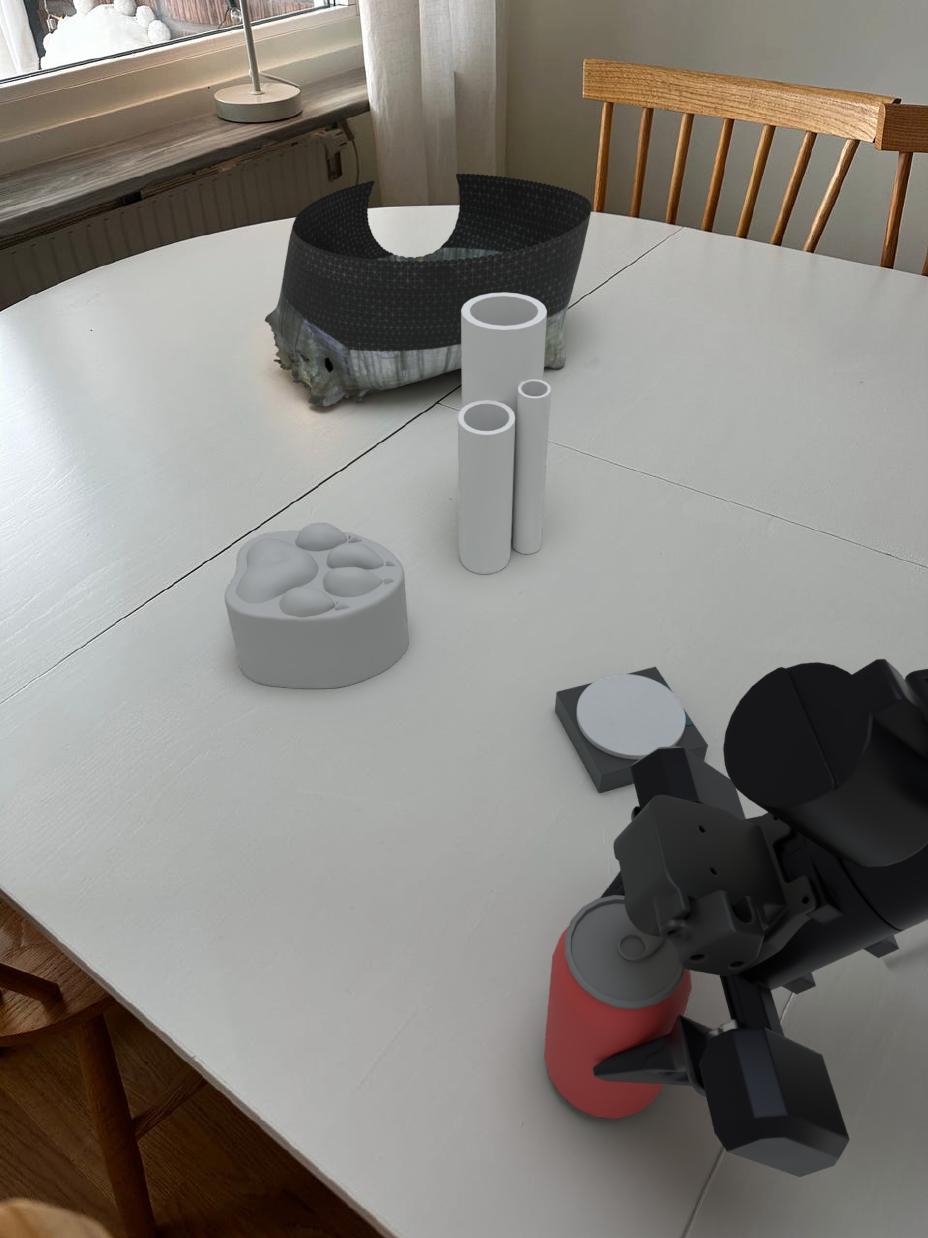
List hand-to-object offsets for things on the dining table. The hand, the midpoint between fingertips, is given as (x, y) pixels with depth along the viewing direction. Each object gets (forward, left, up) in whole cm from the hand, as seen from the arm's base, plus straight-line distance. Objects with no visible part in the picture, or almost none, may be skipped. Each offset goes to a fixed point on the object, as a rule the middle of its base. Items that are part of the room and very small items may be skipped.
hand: (587, 1003), depth 48 cm
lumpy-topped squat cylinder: (+25, -27, -7) cm, 38 cm away
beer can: (-1, 0, -7) cm, 7 cm away
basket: (+31, -75, -7) cm, 82 cm away
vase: (+15, -44, -7) cm, 48 cm away
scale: (+1, -24, -7) cm, 25 cm away
